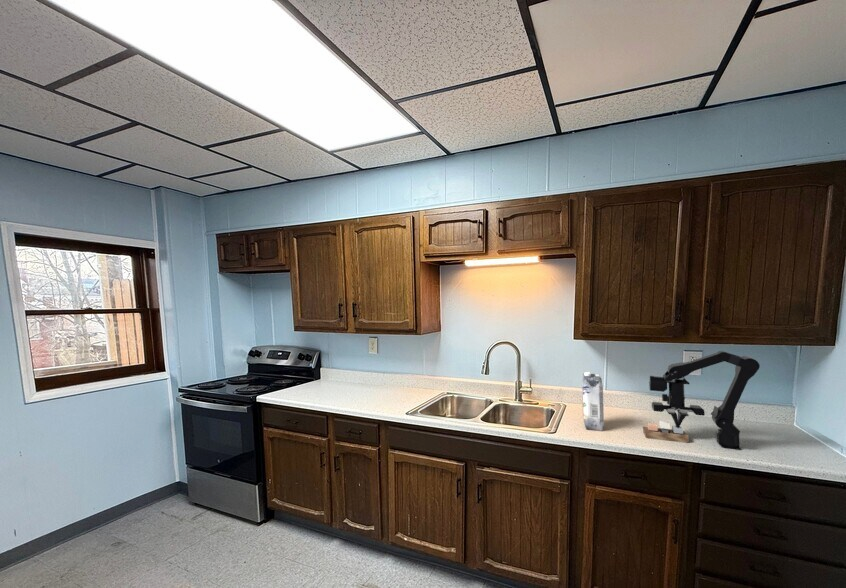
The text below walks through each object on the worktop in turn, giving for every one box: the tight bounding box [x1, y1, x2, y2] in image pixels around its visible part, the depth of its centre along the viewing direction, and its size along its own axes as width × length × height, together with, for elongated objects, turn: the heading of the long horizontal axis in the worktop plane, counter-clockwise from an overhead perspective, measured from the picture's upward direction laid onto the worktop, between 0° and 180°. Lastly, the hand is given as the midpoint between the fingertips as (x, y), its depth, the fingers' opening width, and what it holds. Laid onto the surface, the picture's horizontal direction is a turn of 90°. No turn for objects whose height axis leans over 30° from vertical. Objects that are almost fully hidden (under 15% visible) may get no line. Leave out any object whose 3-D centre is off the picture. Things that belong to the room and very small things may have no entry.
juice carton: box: [581, 371, 605, 432], centre depth 175 cm, size 9×10×27 cm
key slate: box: [671, 425, 684, 434], centre depth 159 cm, size 3×3×5 cm
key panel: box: [642, 426, 690, 444], centre depth 161 cm, size 16×7×3 cm, turn 67°
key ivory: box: [658, 420, 671, 433], centre depth 161 cm, size 3×3×5 cm
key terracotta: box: [646, 422, 659, 432], centre depth 162 cm, size 3×3×5 cm
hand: (677, 427), depth 159 cm, fingers closed, pressing on key slate
